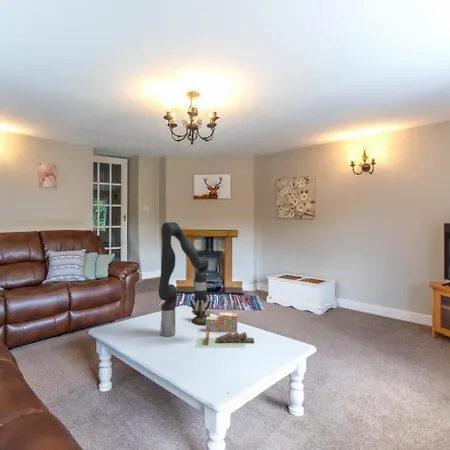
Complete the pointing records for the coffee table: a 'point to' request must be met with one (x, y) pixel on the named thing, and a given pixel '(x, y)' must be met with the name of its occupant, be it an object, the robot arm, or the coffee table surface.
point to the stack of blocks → (222, 323)
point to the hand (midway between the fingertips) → (200, 315)
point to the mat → (217, 344)
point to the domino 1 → (207, 337)
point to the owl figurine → (201, 315)
